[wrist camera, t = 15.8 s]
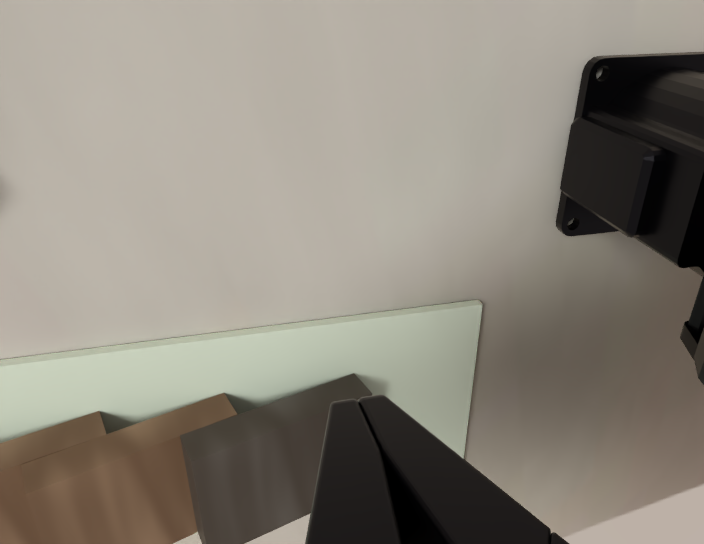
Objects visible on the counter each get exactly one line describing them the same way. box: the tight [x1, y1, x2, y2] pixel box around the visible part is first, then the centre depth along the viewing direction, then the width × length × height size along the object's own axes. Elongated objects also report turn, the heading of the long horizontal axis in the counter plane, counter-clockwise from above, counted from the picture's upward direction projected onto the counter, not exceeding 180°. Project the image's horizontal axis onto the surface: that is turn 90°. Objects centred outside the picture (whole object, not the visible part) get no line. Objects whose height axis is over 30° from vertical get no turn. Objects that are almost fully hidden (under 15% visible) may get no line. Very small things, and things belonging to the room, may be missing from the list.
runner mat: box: [0, 300, 482, 534], centre depth 23 cm, size 28×10×1 cm, turn 90°
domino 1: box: [0, 411, 106, 544], centre depth 21 cm, size 1×5×7 cm
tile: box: [180, 373, 372, 544], centre depth 23 cm, size 1×5×7 cm
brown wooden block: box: [21, 393, 238, 544], centre depth 22 cm, size 1×5×7 cm
